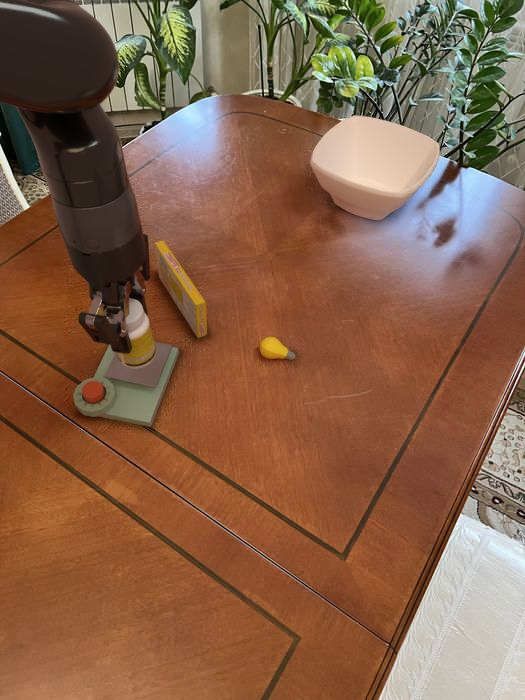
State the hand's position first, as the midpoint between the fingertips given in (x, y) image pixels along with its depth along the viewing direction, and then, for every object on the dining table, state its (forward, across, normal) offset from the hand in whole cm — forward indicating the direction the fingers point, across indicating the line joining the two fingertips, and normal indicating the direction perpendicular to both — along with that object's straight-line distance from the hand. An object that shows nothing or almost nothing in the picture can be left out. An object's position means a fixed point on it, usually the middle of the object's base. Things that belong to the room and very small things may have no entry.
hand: (130, 332), depth 68 cm
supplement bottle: (+5, 0, 0) cm, 5 cm away
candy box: (+21, -22, -3) cm, 31 cm away
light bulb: (+21, -16, +15) cm, 30 cm away
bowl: (+21, -58, +25) cm, 66 cm away
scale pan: (+18, -8, -5) cm, 20 cm away
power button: (+18, 0, -9) cm, 20 cm away
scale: (+21, -5, -6) cm, 22 cm away
